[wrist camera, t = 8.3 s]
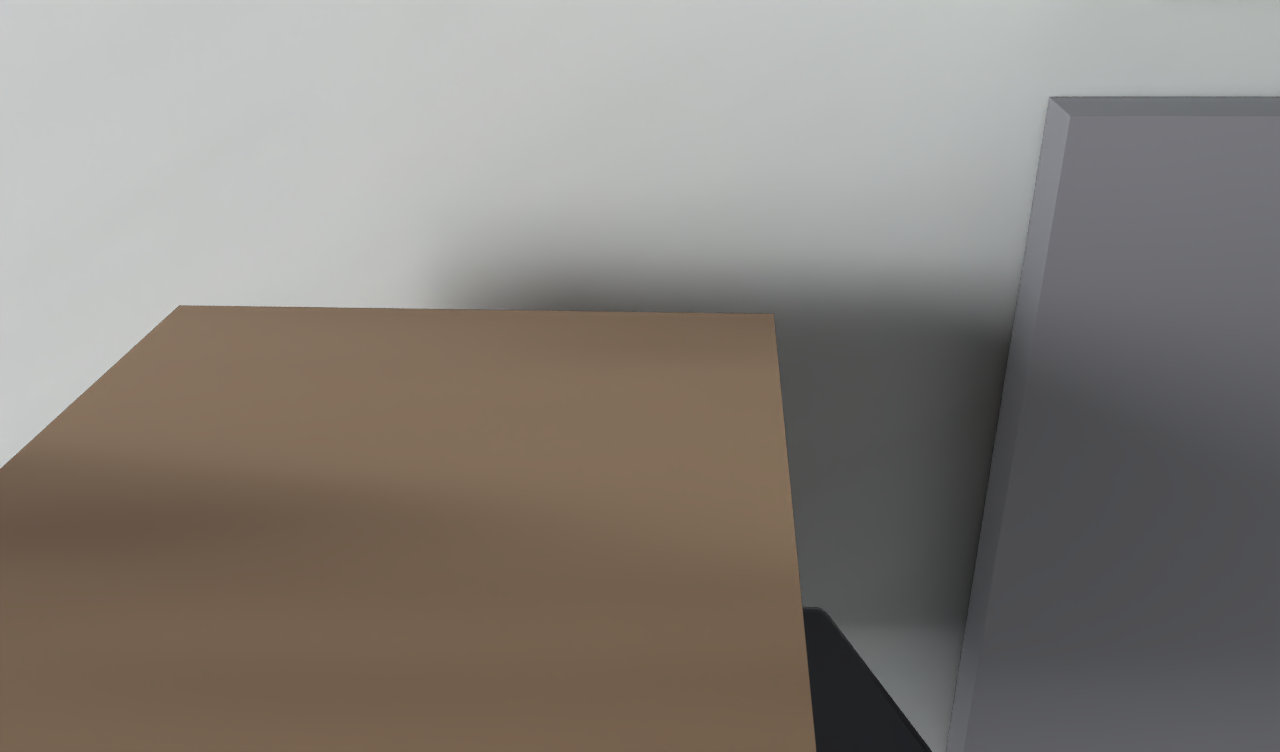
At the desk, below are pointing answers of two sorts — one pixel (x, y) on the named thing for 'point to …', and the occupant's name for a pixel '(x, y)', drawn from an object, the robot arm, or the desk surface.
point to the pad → (1137, 444)
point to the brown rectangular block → (410, 539)
